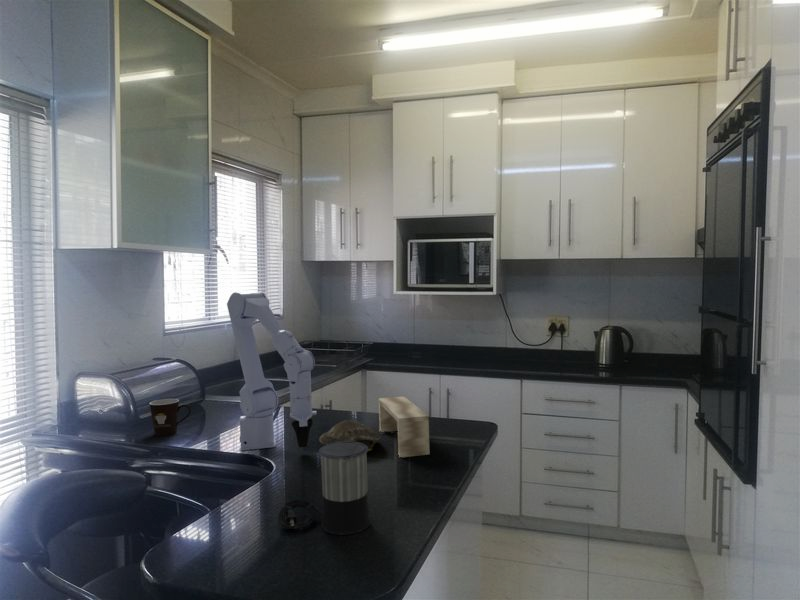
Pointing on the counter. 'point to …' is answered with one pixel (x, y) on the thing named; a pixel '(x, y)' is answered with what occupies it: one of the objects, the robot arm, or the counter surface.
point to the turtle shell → (350, 434)
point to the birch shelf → (405, 425)
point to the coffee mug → (166, 416)
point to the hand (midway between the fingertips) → (302, 446)
